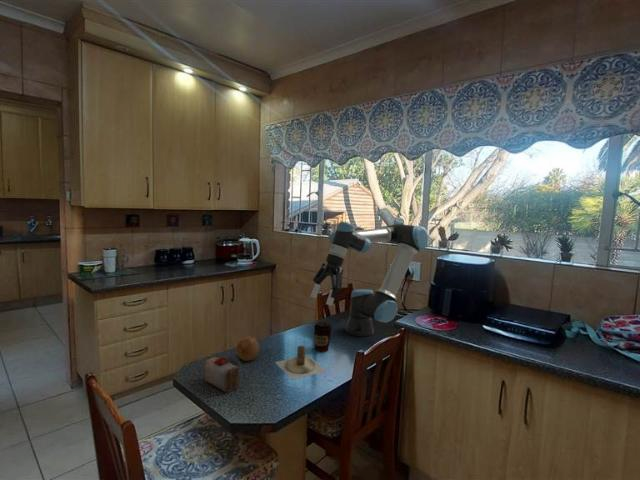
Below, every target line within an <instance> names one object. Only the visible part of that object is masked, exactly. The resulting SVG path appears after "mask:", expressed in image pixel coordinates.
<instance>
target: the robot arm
mask: <svg viewBox="0 0 640 480" xmlns="http://www.w3.org/2000/svg"><path fill="white" fill-rule="evenodd" d="M336 227H337V228H336V229H335V231H332V232H331V234H330V235H329V237H328V239H329V243H330V249H329V251H328V254H327V257H326V259H325V262H327V263H324V262H323V263H322V264H321V267H320V269H319V270H318V271H317V273H316V274H315V276H314V278H312V281H313V282H314V284H313V287H312V291H311V294H310V298H312V299H317V296H318V295H319V294H318V293H319V292H320V288H321V285H322V282H323V281H324V280H325V279H326V278H327V277H329V276H330V278H331V286H332V287H331V289H330V291H329V293H328V297H327V300H326V303H325V304H326V305H328V306H331V307H332V306H333V304H334V301H335V298H336V297H337V293H338V292H339V291H342V289H343V288H342V286H343V274H344V273H343V272H344V269H343V268H342V266H343V263H344V261H345V260H344V258H345V257H346V254H347V251H348V250H352V251H356V252H357V253H361V254H365V253H367V252H368V251H369V250H370V248H371V245H372V244H377V243H382V244H391V245H397V248H398V249H397V252H396V253H395V256H394V257H393V260H392V262H391V264H390V266H389V268H388V271H387V273H386V275H385V277H384V279H383V281H382V283H381V285H380V287H379V289H376V290H375V292H374V291H373V289H370V288H369V289H367V288H358V289H354V290H352V291H351V295H350V306H349V317H348V321H347V323H346V324H345V331H346V333H347V334H349V335H352V336H357V337H369V336H372V335H373V334H374V332H375V331H374V325H373V321H372V319H374V320H375V321H378V322H381V323H384V324H385V323H389V322H392V321H393V320H394V318H395V317H396V315H397V313H398V310H399V309H398V304H397V302H398V301H397V294H398V291H399V289H400V287H401V285H402V282H403V280H404V278H405V276H406V273H407V271H408V269H409V266H410V264H412V263H411V262H412V260H413V258H414V256H415V255H418V254H419V252H420V250H424V249H425V248H426V247H427V246H428V244H429V243H428V242H429V234H428V231H427V229H426V228H425V227H424V226H419V225H412V224H402V223H399V224H398V223H397V224H391V225H383V226H381V227H380V228H371V229H369V228H368V229H360V230H359V229H357V230H355V225H353V224H351V223H349V222H345V221H340V222H339V223H338V225H337V226H336Z"/></svg>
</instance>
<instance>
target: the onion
mask: <svg viewBox="0 0 640 480" xmlns="http://www.w3.org/2000/svg"><path fill="white" fill-rule="evenodd" d="M260 351H261V350H260V343H259V342H258V339H256V338H255V337H253V336H251V335H249V336H245V337H243V338H242V339H241V340H239V341H238V343H237V345H236V354H237V356H238V358H239V359H240V360H242V361H243V362H249V361H250V362H251V361H252V360H255V359H256V358H257V357H258V355H259V354H260Z"/></svg>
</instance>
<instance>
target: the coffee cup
mask: <svg viewBox="0 0 640 480" xmlns="http://www.w3.org/2000/svg"><path fill="white" fill-rule="evenodd" d="M313 329H314V334H313V336H314V337H313V338H314V339H313V340H314V350H315V351H316V352H319V353H326V352H328V351H329V346H330V342H331V335H332V330H333V326H332V323H331V322H329V321H318V322H316V323H315V324H314V327H313Z"/></svg>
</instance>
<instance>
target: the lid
mask: <svg viewBox="0 0 640 480" xmlns="http://www.w3.org/2000/svg"><path fill="white" fill-rule="evenodd" d="M296 352H297V353H296V357H292V358H289V360H288V359H287V360H288V361H287V362H286V368H287V370H289V371H290V372H293V373H298V374H304V373H309V372H312V371H313V370H314V369H315V363H314V361H315V360H314V361H312V360H311V359H308V358H305V356H306V346H304V345H299V346H297V351H296Z"/></svg>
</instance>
